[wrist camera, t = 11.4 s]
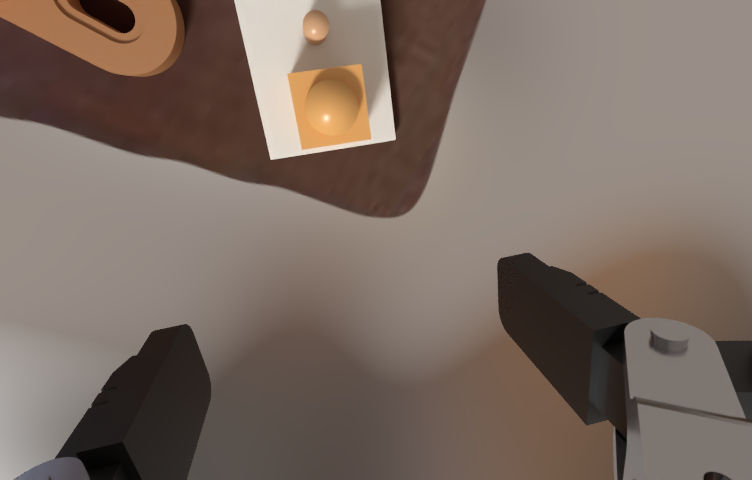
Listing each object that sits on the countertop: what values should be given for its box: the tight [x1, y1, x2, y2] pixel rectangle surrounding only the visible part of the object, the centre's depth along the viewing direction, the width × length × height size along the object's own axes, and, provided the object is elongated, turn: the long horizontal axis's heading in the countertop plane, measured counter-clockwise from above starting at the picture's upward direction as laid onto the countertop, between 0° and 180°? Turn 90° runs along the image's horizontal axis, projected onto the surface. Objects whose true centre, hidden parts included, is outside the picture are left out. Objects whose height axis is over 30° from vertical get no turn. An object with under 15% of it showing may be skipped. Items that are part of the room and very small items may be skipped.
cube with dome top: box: [287, 64, 371, 150], centre depth 33 cm, size 6×6×7 cm
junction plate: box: [234, 0, 396, 160], centre depth 34 cm, size 12×14×6 cm
